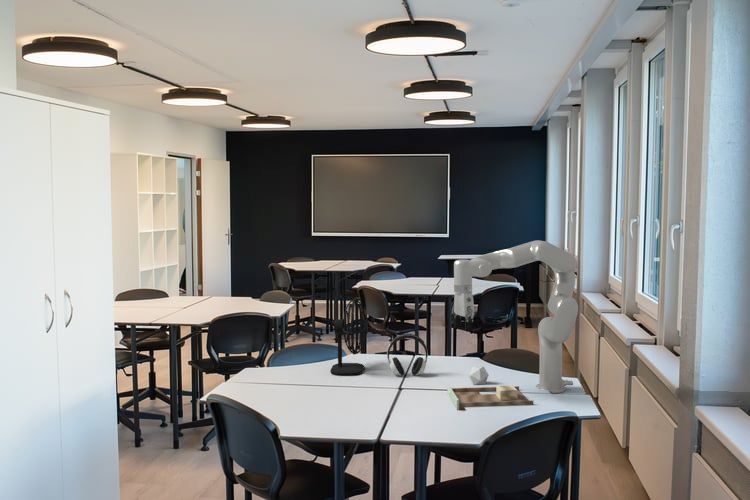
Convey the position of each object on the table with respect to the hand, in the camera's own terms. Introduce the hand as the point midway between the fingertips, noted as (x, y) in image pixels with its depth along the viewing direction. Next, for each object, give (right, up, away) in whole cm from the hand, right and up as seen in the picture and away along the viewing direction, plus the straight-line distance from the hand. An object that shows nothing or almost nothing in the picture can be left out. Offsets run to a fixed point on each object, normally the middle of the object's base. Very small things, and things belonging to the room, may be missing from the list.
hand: (463, 329), depth 298 cm
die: (+9, -27, +18) cm, 33 cm away
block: (+17, -27, -8) cm, 33 cm away
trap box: (+9, -29, -8) cm, 31 cm away
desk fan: (-50, -25, +44) cm, 71 cm away
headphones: (-22, -26, +33) cm, 48 cm away
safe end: (-6, -29, -9) cm, 31 cm away
